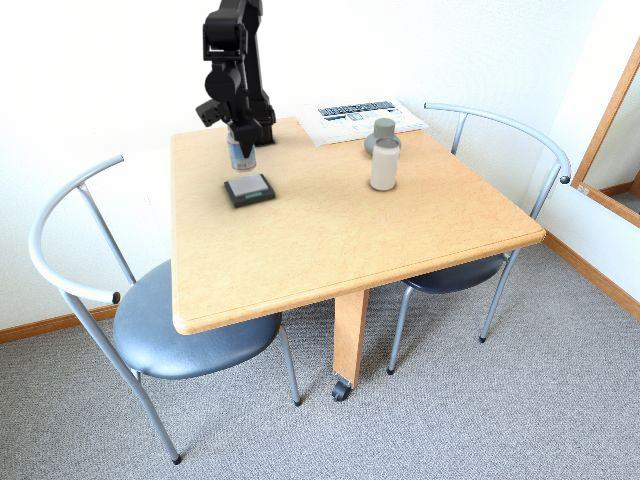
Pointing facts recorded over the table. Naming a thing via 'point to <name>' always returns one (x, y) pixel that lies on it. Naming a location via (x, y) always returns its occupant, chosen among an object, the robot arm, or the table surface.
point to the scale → (249, 190)
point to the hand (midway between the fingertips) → (242, 152)
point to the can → (384, 164)
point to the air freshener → (381, 133)
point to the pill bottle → (239, 155)
